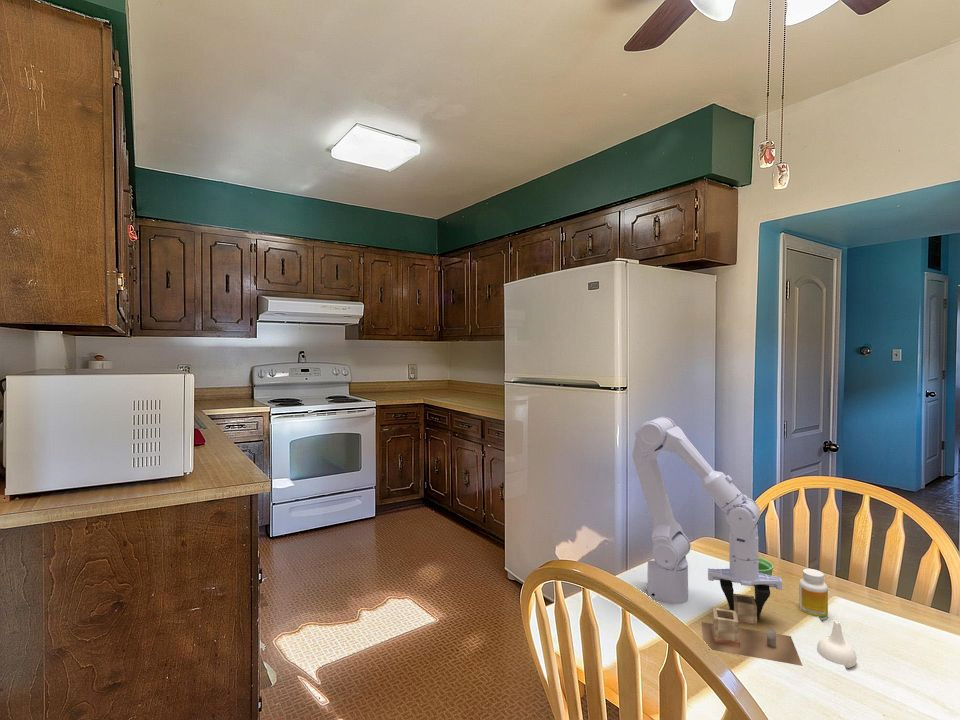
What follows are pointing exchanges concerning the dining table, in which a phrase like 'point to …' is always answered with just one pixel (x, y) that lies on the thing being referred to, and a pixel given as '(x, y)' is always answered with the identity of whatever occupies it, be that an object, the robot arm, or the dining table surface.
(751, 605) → the banded sleeve
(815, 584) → the supplement bottle
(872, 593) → the dining table surface
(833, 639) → the garlic bulb
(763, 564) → the ramekin
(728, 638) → the seated sleeve
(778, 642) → the pin board
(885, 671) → the dining table surface
